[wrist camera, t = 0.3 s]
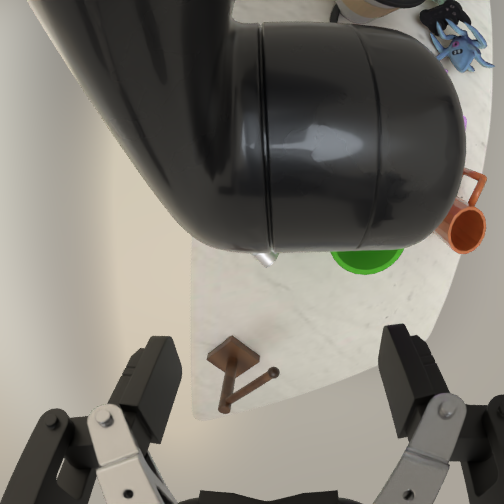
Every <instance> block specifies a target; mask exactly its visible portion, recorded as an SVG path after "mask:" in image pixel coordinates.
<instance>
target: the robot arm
mask: <svg viewBox="0 0 504 504" xmlns="http://www.w3.org/2000/svg"><path fill="white" fill-rule="evenodd" d="M27 2H28V3H29V5H30V7H31V8H32V10H33V12H34V13H35V15H36V17H37V18H38V20H39V22H40V23H41V25H42V26H43V28H44V30H45V31H46V33H47V34H48V36H49V38H50V39H51V41H52V42H53V44H54V46H55V47H56V49H57V50H58V52H59V53H60V55H61V57H62V58H63V60H64V61H65V63H66V64H67V66H68V67H69V69H70V71H71V72H72V74H73V75H74V77H75V78H76V80H77V81H78V83H79V84H80V86H81V88H82V89H83V91H84V92H85V94H86V95H87V97H88V98H89V100H90V101H91V103H92V104H93V106H94V107H95V109H96V110H97V112H98V113H99V115H100V116H101V118H102V119H103V121H104V122H105V124H106V125H107V127H108V128H109V130H110V131H111V133H112V134H113V136H114V137H115V138H116V140H117V141H118V143H119V144H120V146H121V147H122V149H123V150H124V152H125V153H126V154H127V156H128V157H129V159H130V160H131V162H132V163H133V164H134V166H135V167H136V169H137V170H138V172H139V173H140V174H141V176H142V177H143V179H144V180H145V181H146V183H147V184H148V186H149V187H150V188H151V190H152V191H153V192H154V194H155V195H156V196H157V197H158V199H159V200H160V202H161V203H162V204H163V205H164V207H165V208H166V209H167V211H168V212H169V213H170V214H171V215H172V217H173V218H174V219H175V220H176V221H177V223H178V224H179V225H180V226H181V227H183V229H184V230H186V231H187V232H188V233H189V234H190V235H191V236H193V237H194V238H196V239H197V240H199V241H200V242H202V243H204V244H206V245H208V246H210V247H213V248H216V249H220V250H226V251H231V252H238V253H270V252H271V250H272V248H273V251H274V252H275V253H295V252H336V251H367V250H395V249H403V248H406V247H410V246H412V245H415V244H417V243H419V242H421V241H422V240H424V239H425V238H426V237H428V236H429V235H430V234H431V233H432V232H433V231H434V230H435V229H436V228H437V227H438V226H439V225H440V224H441V223H442V221H443V220H444V219H445V217H446V216H447V214H448V212H449V211H450V209H451V207H452V205H453V203H454V201H455V198H456V196H457V193H458V190H459V187H460V184H461V180H462V176H463V171H464V166H465V157H466V133H465V124H464V118H463V113H462V109H461V105H460V102H459V99H458V95H457V93H456V90H455V88H454V85H453V83H452V81H451V79H450V77H449V75H448V73H447V72H446V70H445V69H444V67H443V66H442V64H441V63H440V61H439V60H438V59H437V58H436V56H435V55H434V54H433V53H432V52H431V51H430V50H429V49H428V48H427V47H426V46H424V45H423V44H422V43H421V42H419V41H418V40H417V39H415V38H413V37H412V36H410V35H408V34H405V33H403V32H400V31H398V30H393V29H389V28H384V27H376V26H368V25H358V24H343V23H337V21H338V16H339V13H340V9H339V7H338V5H337V3H336V4H335V6H334V8H333V10H332V13H331V17H330V23H329V22H264V23H263V24H262V27H260V24H259V23H252V24H248V23H246V24H243V23H240V22H237V21H235V20H234V19H233V18H232V12H233V8H234V3H235V0H27ZM378 365H379V371H380V374H381V378H382V381H383V385H384V388H385V392H386V395H387V399H388V402H389V406H390V409H391V413H392V417H393V421H394V425H395V428H396V433H397V436H398V438H404V437H408V441H409V444H408V446H407V448H406V450H405V452H404V453H403V455H402V457H401V459H400V461H399V462H398V464H397V466H396V468H395V469H394V471H393V473H392V474H391V476H390V478H389V479H388V481H387V483H386V484H385V486H384V487H383V489H382V491H381V492H380V494H379V495H378V497H377V498H376V500H375V501H374V503H373V504H433V502H434V500H435V498H436V496H437V494H438V492H439V490H440V488H441V485H442V484H443V482H444V479H445V477H446V475H447V472H448V470H449V466H450V465H449V464H448V462H449V461H460V462H461V466H462V470H463V474H464V479H465V483H466V488H467V492H468V497H469V502H470V504H504V395H498V396H495V397H494V398H493V399H492V400H491V401H490V402H489V404H488V405H467V404H465V403H464V401H463V400H462V399H461V398H459V397H458V396H457V395H454V394H451V393H450V392H449V390H448V388H447V385H446V383H445V381H444V379H443V376H442V374H441V372H440V370H439V368H438V366H437V364H436V363H435V360H434V358H433V356H432V355H431V352H430V349H429V348H428V345H427V343H426V342H424V341H423V340H422V339H421V338H420V337H419V336H418V335H414V336H410V334H409V332H408V330H407V328H406V326H405V325H404V324H396V325H388V326H384V328H383V333H382V339H381V345H380V350H379V356H378ZM122 374H123V375H122V376H121V377H120V379H119V382H118V383H117V385H116V387H115V389H114V391H113V393H112V395H111V398H110V400H109V401H108V403H107V404H103V405H100V406H98V407H96V408H95V409H93V410H92V411H91V413H90V414H89V416H85V417H74V418H70V417H69V416H68V415H67V413H66V412H65V411H64V410H61V409H51V410H49V411H47V412H45V413H44V414H43V415H42V416H41V417H40V419H39V421H38V423H37V425H36V427H35V429H34V431H33V433H32V434H31V436H30V439H29V440H28V443H27V444H26V447H25V449H24V451H23V453H22V455H21V457H20V459H19V461H18V463H17V465H16V468H15V470H14V472H13V475H12V476H11V479H10V481H9V483H8V486H7V488H6V490H5V493H4V495H3V497H2V500H1V503H0V504H88V501H89V498H90V495H91V492H92V489H93V486H94V483H95V480H96V477H97V478H98V481H99V484H100V487H101V490H102V493H103V495H104V498H105V501H106V503H107V504H362V503H360V502H357V501H353V500H350V499H345V498H339V497H338V491H337V490H336V491H325V492H312V493H302V494H298V495H295V496H290V497H286V498H282V499H278V500H273V501H262V500H258V499H254V498H250V497H246V496H242V495H238V494H235V493H226V492H213V491H203V490H202V491H200V495H199V498H193V499H189V500H185V501H182V502H179V503H178V502H177V501H176V499H175V498H174V497H173V495H172V494H171V492H170V491H169V489H168V487H167V486H166V484H165V483H164V480H163V478H162V476H161V474H160V473H159V471H158V469H157V467H156V465H155V463H154V461H153V459H152V457H151V455H150V453H149V451H148V447H149V444H150V443H156V444H161V441H162V437H163V434H164V431H165V427H166V425H167V422H168V418H169V415H170V412H171V409H172V406H173V403H174V400H175V396H176V394H177V391H178V387H179V384H180V381H181V378H182V366H181V363H180V359H179V357H178V354H177V351H176V348H175V345H174V342H173V339H172V337H170V336H152V337H151V338H150V339H149V341H148V344H147V345H146V347H145V348H140V349H139V350H138V351H137V352H136V353H135V354H133V355H132V356H131V358H130V360H129V362H128V364H127V366H126V368H125V370H124V372H123V373H122ZM63 458H65V460H64V463H63V465H62V468H61V470H60V473H59V475H58V478H57V480H56V477H57V473H58V470H59V468H60V465H61V463H62V461H63Z"/></svg>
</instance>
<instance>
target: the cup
mask: <svg viewBox="0 0 504 504" xmlns="http://www.w3.org/2000/svg"><path fill="white" fill-rule="evenodd" d="M403 250H404V248H403V249H395V250H367V251H336V252H331V254H332V256H333V258H334V260H335V261H336V262H337V263H338V264H339V265H340V266H341V267H342V268H344V269H345V270H347V271H349V272H352V273H355V274H363V275H367V274H375V273H377V272H380V271H383V270H385V269H386V268H388V267H389V266H391V265H392V264H393V263H394V262H395V261H396V260H397V259H398V258H399V256H400V255H401V253H402V252H403Z"/></svg>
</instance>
